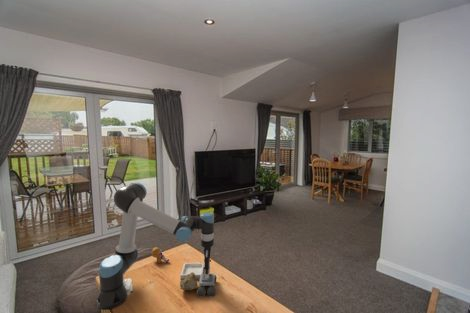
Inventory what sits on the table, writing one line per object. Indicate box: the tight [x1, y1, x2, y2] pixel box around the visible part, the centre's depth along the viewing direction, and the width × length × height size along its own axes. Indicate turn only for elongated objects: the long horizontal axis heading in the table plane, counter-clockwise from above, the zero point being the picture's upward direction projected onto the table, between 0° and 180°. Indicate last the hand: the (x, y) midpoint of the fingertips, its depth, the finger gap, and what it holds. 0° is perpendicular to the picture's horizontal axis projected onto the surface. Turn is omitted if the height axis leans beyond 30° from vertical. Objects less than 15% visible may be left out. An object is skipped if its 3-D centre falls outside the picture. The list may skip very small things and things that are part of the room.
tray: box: [179, 262, 205, 281], centre depth 152 cm, size 14×14×3 cm
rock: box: [179, 272, 198, 291], centre depth 136 cm, size 12×10×10 cm
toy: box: [150, 246, 170, 264], centre depth 164 cm, size 14×7×15 cm
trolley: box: [196, 273, 217, 298], centre depth 137 cm, size 11×14×8 cm
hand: (207, 275), depth 136 cm, fingers open, 5 cm apart
